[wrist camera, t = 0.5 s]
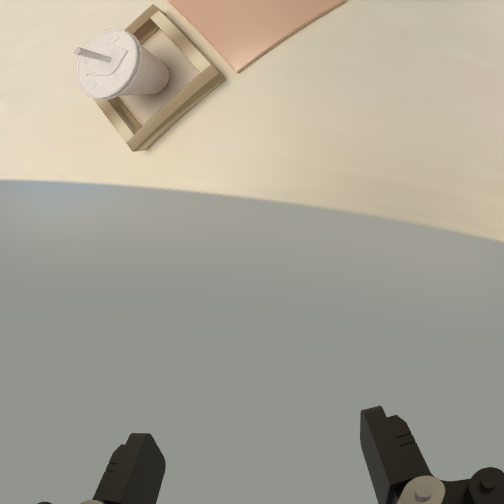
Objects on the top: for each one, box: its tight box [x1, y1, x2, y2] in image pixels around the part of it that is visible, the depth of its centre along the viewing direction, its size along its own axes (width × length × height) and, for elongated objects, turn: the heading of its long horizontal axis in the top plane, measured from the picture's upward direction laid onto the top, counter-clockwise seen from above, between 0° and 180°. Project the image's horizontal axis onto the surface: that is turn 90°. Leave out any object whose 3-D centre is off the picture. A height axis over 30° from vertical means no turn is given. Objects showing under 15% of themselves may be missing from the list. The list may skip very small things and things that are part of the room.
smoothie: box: [74, 29, 169, 100], centre depth 23 cm, size 6×6×14 cm
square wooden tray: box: [93, 4, 226, 152], centre depth 28 cm, size 11×11×3 cm
